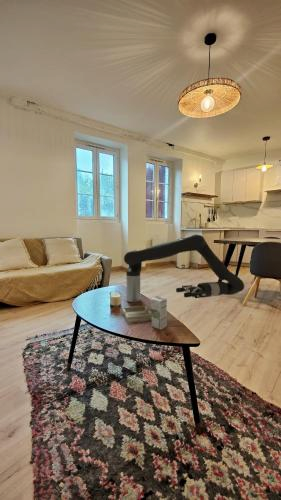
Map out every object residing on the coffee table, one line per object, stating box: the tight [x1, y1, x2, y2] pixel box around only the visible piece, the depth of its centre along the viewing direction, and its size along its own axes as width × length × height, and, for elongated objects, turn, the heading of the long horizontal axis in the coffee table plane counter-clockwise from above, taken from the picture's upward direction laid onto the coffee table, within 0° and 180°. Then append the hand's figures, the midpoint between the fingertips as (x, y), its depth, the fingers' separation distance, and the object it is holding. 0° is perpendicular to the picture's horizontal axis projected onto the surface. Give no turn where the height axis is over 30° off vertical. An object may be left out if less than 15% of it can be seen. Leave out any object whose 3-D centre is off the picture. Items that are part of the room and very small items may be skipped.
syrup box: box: [150, 296, 168, 330], centre depth 108 cm, size 6×6×14 cm
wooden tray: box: [121, 304, 151, 324], centre depth 121 cm, size 14×14×3 cm
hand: (180, 292), depth 110 cm, fingers open, 8 cm apart
